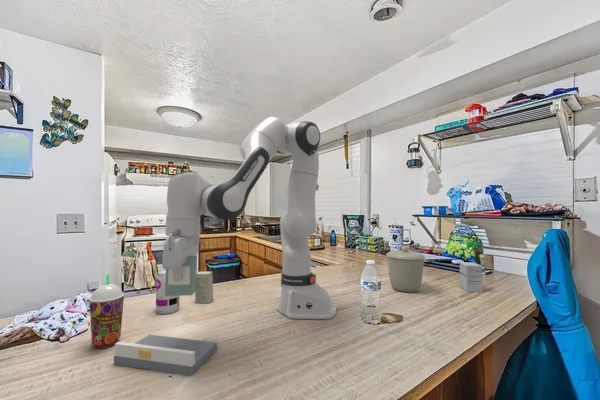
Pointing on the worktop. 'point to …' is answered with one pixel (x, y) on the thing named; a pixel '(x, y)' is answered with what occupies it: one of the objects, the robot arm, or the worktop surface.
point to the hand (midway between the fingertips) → (181, 278)
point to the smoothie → (106, 314)
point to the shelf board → (165, 354)
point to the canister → (405, 269)
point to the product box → (188, 279)
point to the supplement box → (471, 277)
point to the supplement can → (164, 302)
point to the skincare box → (204, 287)
